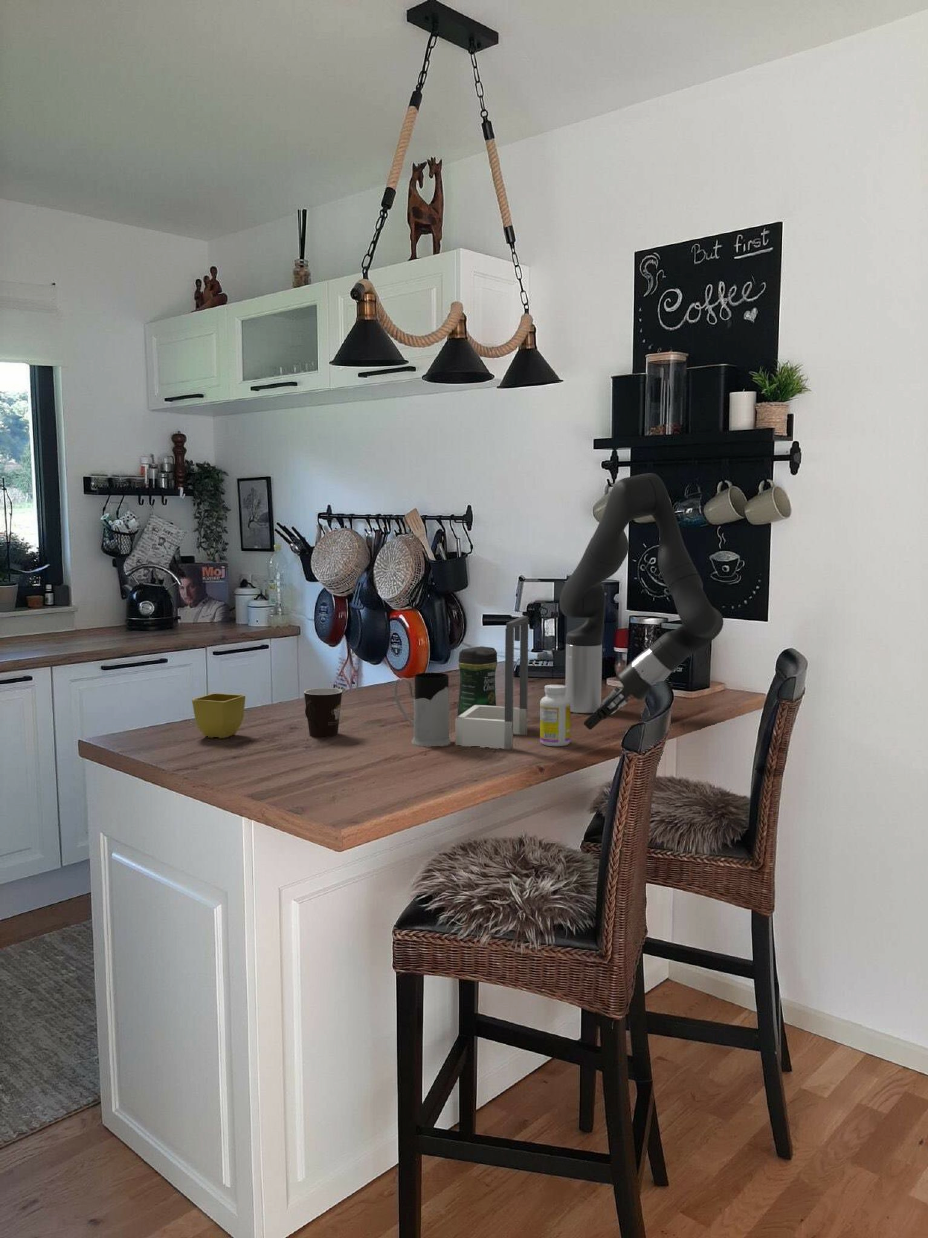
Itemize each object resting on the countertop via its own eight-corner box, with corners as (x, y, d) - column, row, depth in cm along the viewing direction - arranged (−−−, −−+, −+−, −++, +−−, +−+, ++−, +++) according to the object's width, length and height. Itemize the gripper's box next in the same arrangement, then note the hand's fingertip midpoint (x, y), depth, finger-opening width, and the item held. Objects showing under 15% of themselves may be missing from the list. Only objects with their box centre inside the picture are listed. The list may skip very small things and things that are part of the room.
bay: (474, 730, 226) (475, 614, 224) (527, 733, 223) (528, 616, 220) (455, 745, 211) (455, 621, 208) (511, 749, 208) (512, 623, 205)
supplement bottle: (562, 739, 217) (563, 682, 216) (575, 746, 211) (576, 688, 210) (535, 741, 215) (535, 684, 214) (546, 748, 209) (547, 689, 208)
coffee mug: (327, 728, 227) (327, 686, 226) (350, 734, 221) (349, 691, 220) (285, 736, 219) (285, 692, 218) (308, 742, 213) (307, 698, 212)
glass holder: (437, 748, 208) (437, 679, 206) (383, 740, 215) (383, 674, 214) (458, 741, 215) (458, 674, 214) (406, 733, 223) (406, 668, 221)
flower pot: (191, 738, 217) (190, 699, 216) (214, 730, 225) (213, 692, 224) (225, 742, 214) (224, 701, 213) (247, 733, 222) (246, 695, 221)
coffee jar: (477, 728, 228) (478, 650, 226) (452, 723, 233) (452, 647, 231) (502, 722, 236) (503, 646, 234) (477, 717, 241) (477, 643, 239)
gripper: (636, 656, 213) (579, 707, 218) (629, 665, 200) (569, 719, 205) (660, 681, 212) (602, 732, 217) (654, 691, 200) (594, 745, 204)
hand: (586, 726), depth 211 cm, fingers closed
